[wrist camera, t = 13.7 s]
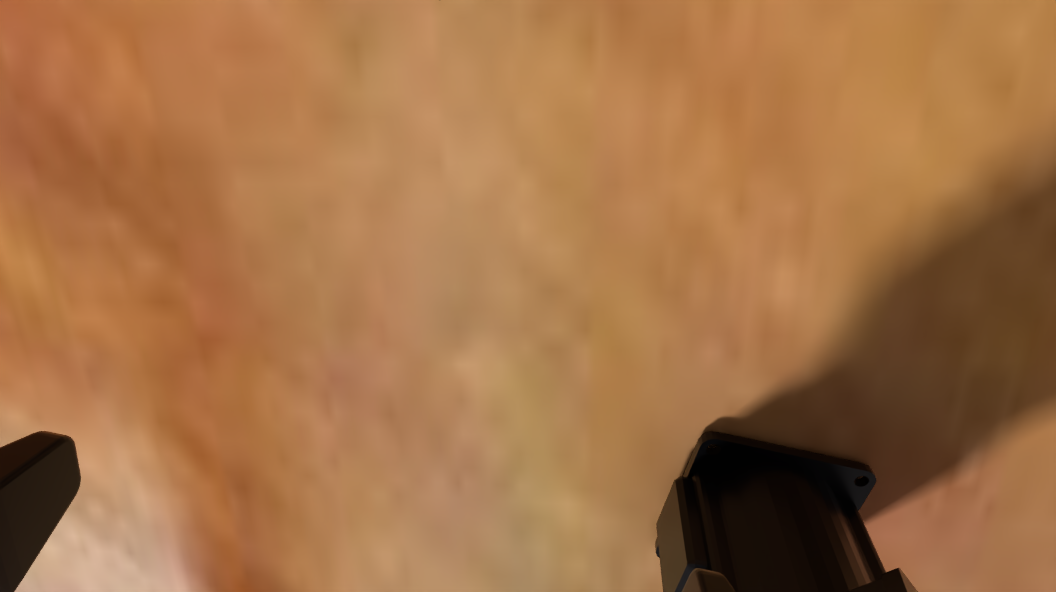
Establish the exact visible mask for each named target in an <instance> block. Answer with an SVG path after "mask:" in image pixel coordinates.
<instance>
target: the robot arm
mask: <svg viewBox="0 0 1056 592" xmlns="http://www.w3.org/2000/svg"><path fill="white" fill-rule="evenodd" d="M711 444H716V445H717V446H716V447H714V448H709V447H708V446H709V445H711ZM860 476H863V477H862V478H859V479H856V478H857V477H860ZM80 481H81V475H80V469H79V464H78V458H77V452H76V447H75V443H74V441H73V439H72V438H71V437H69V436H67V435H62V434H57V433H52V432H47V431H40V432H36V433H33V434H31V435H28V436H26V437H24V438H21V439H19V440H17V441H14V442H12V443H10V444H7V445H5V446H3V447H0V592H14V591H15V590H16V588H17V587H18V585H19V584H20V582H21V581H22V579H23V578H24V576H25V575H26V573H27V572H28V570H29V568H30V567H31V565H32V564H33V562H34V561H35V559H36V557H37V556H38V554H39V553H40V551H41V549H42V548H43V546H44V545H45V543H46V542H47V540H48V538H49V537H50V535H51V534H52V532H53V531H54V529H55V527H56V526H57V524H58V523H59V521H60V520H61V518H62V516H63V515H64V513H65V512H66V510H67V508H68V507H69V505H70V504H71V502H72V501H73V499H74V497H75V496H76V494H77V492H78V489H79V486H80ZM875 483H876V477H875V475H874V473H873V471H872V469H871V468H870V467H869V465H866V464H864V463H859V462H854V461H850V460H845V459H840V458H836V457H831V456H826V455H822V454H817V453H812V452H808V451H803V450H798V449H794V448H789V447H784V446H780V445H775V444H770V443H766V442H761V441H756V440H752V439H747V438H742V437H738V436H733V435H728V434H724V433H719V432H707V433H705V434H703V435H701V437H700V438H699V439H698V442H697V444H696V446H695V449H694V451H693V454H692V456H691V458H690V461H689V463H688V466H687V468H686V470H685V473H684V475H683V476H680V477H678V478H677V479H676V480H674V483H673V485H672V487H671V490H670V492H669V495H668V497H667V500H666V502H665V504H664V507H663V509H662V512H661V514H660V516H659V519H658V521H657V536H658V537H657V539H656V542H655V548H656V554H657V556H658V557H659V558H660V565H661V575H662V584H663V592H918V591H917V590H916V589H915V587H914V586H913V585H912V583H911V582H910V581H909V580H908V578H907V577H906V576H905V574H904V573H903V572H902V571H901V569H900V568H897V569H894V570H891V571H889V572H886V571H885V569H884V567H883V564H882V562H881V560H880V558H879V556H878V553H877V551H876V549H875V547H874V545H873V542H872V540H871V538H870V536H869V534H868V531H867V529H866V527H865V525H864V523H863V520H862V518H861V516H860V514H859V512H858V511H859V509H860V508H861V506H862V504H863V503H864V501H865V500H866V498H867V496H868V495H869V493H870V491H871V490H872V488H873V487H874V485H875Z"/></svg>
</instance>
